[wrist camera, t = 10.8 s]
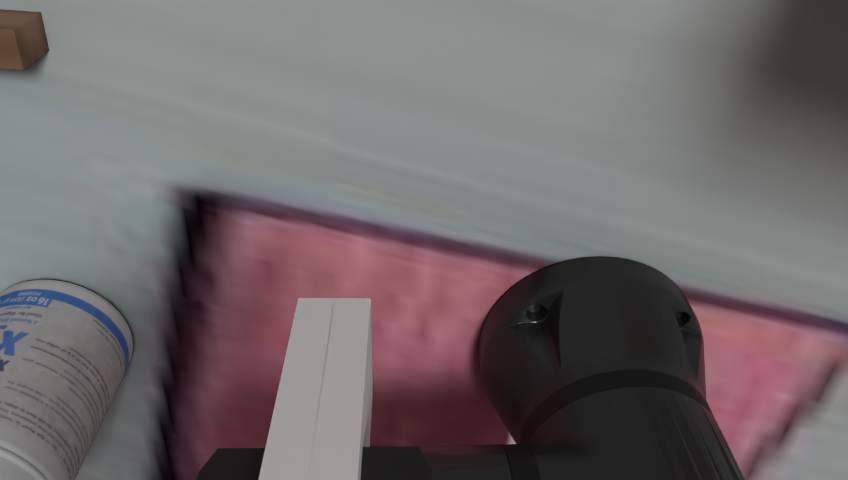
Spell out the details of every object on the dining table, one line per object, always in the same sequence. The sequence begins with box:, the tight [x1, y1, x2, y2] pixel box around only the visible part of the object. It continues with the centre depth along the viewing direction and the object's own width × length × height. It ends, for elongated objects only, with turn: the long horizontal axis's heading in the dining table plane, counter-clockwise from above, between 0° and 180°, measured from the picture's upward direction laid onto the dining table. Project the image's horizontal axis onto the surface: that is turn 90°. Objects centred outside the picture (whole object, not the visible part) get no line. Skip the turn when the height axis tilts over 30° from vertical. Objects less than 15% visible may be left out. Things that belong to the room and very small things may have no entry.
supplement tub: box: [0, 280, 133, 480], centre depth 42 cm, size 10×10×15 cm
